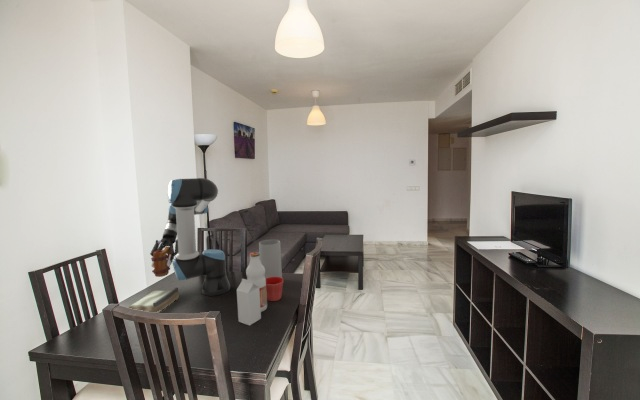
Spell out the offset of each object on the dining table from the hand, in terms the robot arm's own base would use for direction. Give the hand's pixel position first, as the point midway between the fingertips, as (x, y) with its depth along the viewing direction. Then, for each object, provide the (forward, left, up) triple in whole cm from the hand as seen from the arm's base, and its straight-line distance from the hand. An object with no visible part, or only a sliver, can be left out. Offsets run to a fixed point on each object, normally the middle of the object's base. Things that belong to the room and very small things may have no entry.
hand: (160, 266), depth 165 cm
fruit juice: (-62, +17, -15) cm, 66 cm away
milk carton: (-62, +28, -15) cm, 69 cm away
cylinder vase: (-60, -15, -15) cm, 63 cm away
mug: (0, -3, -6) cm, 7 cm away
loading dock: (-8, +17, -15) cm, 24 cm away
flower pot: (-67, +5, -15) cm, 69 cm away
